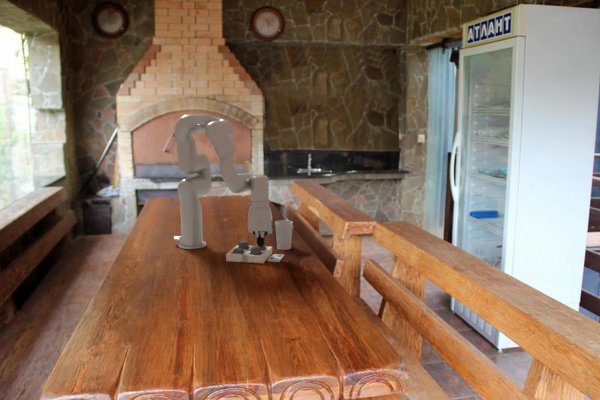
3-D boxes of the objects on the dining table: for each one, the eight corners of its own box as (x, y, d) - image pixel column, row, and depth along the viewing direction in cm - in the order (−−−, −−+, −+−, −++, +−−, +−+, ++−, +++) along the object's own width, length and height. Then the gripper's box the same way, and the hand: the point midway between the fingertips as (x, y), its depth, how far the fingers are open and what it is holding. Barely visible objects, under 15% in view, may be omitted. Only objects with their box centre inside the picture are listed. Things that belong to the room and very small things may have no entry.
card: (267, 261, 238) (267, 259, 238) (272, 255, 246) (272, 253, 246) (279, 261, 237) (279, 260, 237) (284, 256, 245) (284, 254, 245)
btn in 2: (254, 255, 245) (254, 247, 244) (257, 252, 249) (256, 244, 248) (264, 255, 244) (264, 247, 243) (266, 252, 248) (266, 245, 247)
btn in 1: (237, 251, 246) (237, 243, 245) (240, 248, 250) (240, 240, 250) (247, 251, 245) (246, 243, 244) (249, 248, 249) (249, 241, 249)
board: (226, 261, 238) (226, 254, 238) (237, 251, 253) (237, 244, 252) (263, 263, 235) (263, 256, 234) (272, 253, 249) (272, 246, 249)
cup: (290, 250, 254) (290, 224, 252) (273, 249, 255) (273, 223, 253) (294, 246, 262) (294, 220, 259) (277, 245, 263) (277, 219, 261)
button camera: (249, 256, 238) (249, 248, 237) (252, 253, 242) (252, 245, 241) (259, 257, 237) (259, 248, 236) (262, 254, 241) (262, 246, 240)
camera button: (232, 258, 239) (231, 250, 239) (235, 255, 244) (235, 248, 243) (242, 259, 238) (241, 251, 238) (245, 256, 243) (245, 248, 242)
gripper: (240, 205, 240) (241, 247, 244) (275, 206, 237) (275, 249, 241) (245, 202, 247) (246, 243, 251) (279, 203, 245) (279, 244, 248)
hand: (260, 246), depth 246 cm, fingers closed
